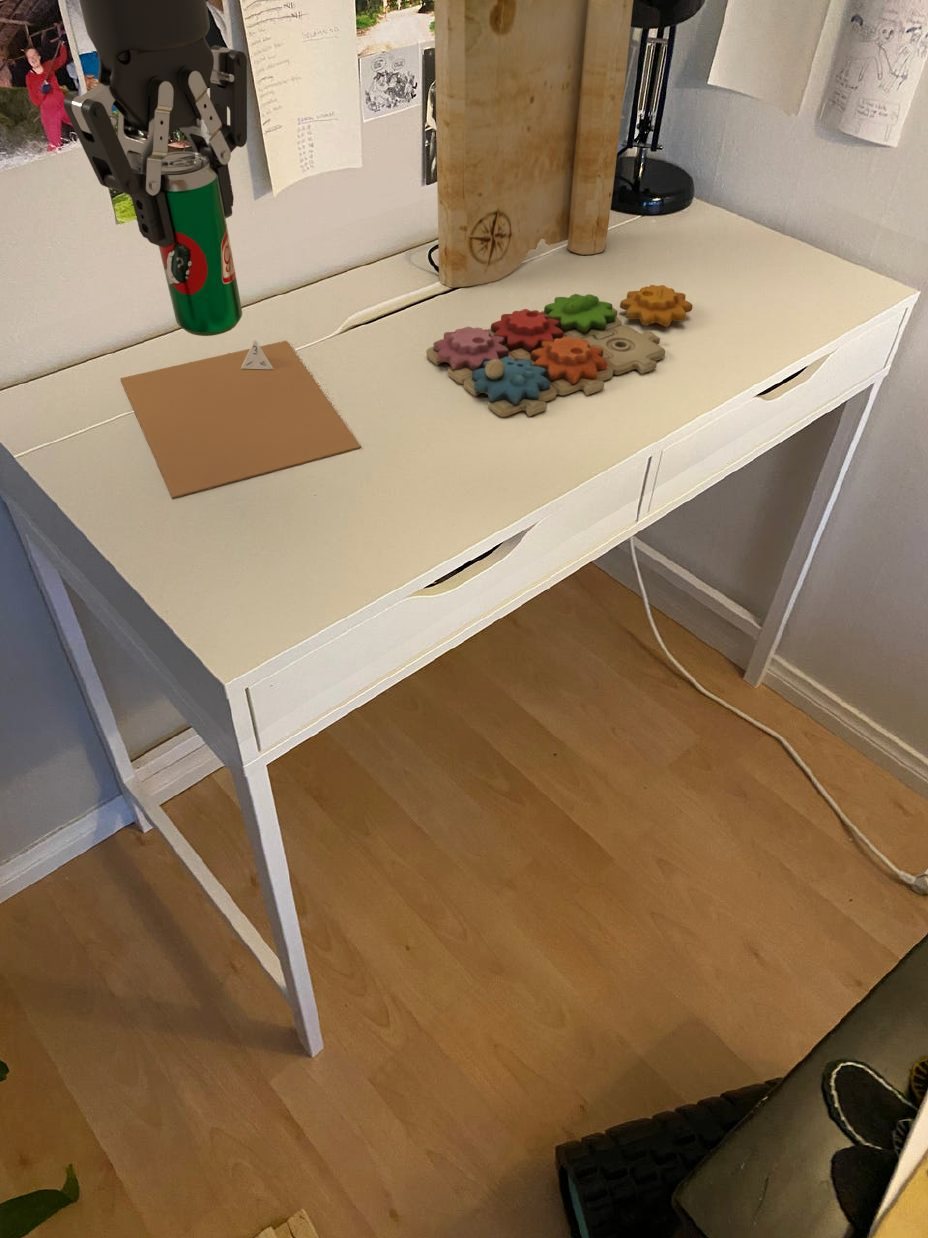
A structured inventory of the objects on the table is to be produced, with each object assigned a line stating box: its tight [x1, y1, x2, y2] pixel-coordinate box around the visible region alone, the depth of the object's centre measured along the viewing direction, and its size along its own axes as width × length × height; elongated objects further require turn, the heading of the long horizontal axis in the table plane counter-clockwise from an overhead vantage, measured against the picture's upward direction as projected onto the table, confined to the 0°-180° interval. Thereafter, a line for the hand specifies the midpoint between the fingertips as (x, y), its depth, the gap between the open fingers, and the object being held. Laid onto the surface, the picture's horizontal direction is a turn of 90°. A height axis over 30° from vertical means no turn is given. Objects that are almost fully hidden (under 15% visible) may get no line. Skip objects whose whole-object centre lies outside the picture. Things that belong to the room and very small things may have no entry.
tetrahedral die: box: [241, 339, 273, 370], centre depth 100 cm, size 4×3×3 cm
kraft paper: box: [120, 340, 362, 500], centre depth 95 cm, size 18×22×1 cm
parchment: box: [433, 0, 634, 289], centre depth 108 cm, size 23×6×30 cm, turn 117°
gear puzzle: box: [425, 284, 694, 417], centre depth 102 cm, size 31×16×4 cm, turn 123°
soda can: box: [158, 151, 243, 337], centre depth 70 cm, size 5×5×12 cm
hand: (190, 228), depth 69 cm, fingers closed on soda can, 5 cm apart
